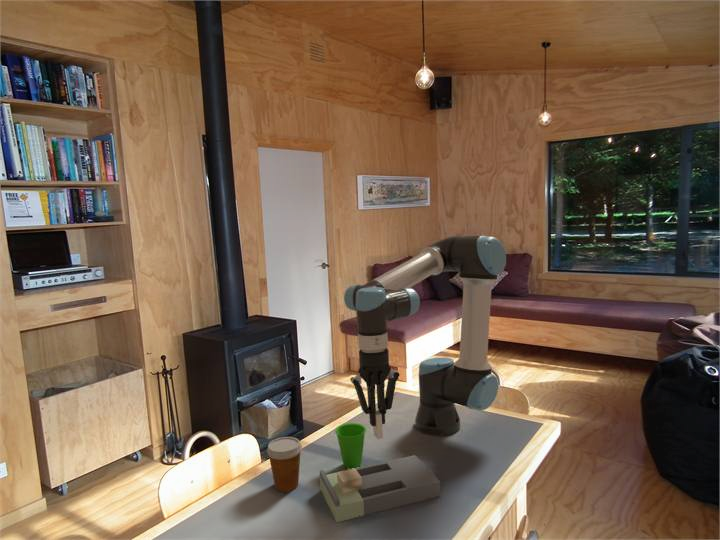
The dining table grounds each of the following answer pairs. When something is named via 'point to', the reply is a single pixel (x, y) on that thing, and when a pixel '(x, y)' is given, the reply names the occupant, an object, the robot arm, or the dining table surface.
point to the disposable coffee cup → (285, 462)
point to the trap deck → (381, 488)
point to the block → (349, 480)
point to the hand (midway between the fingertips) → (378, 436)
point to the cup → (351, 443)
